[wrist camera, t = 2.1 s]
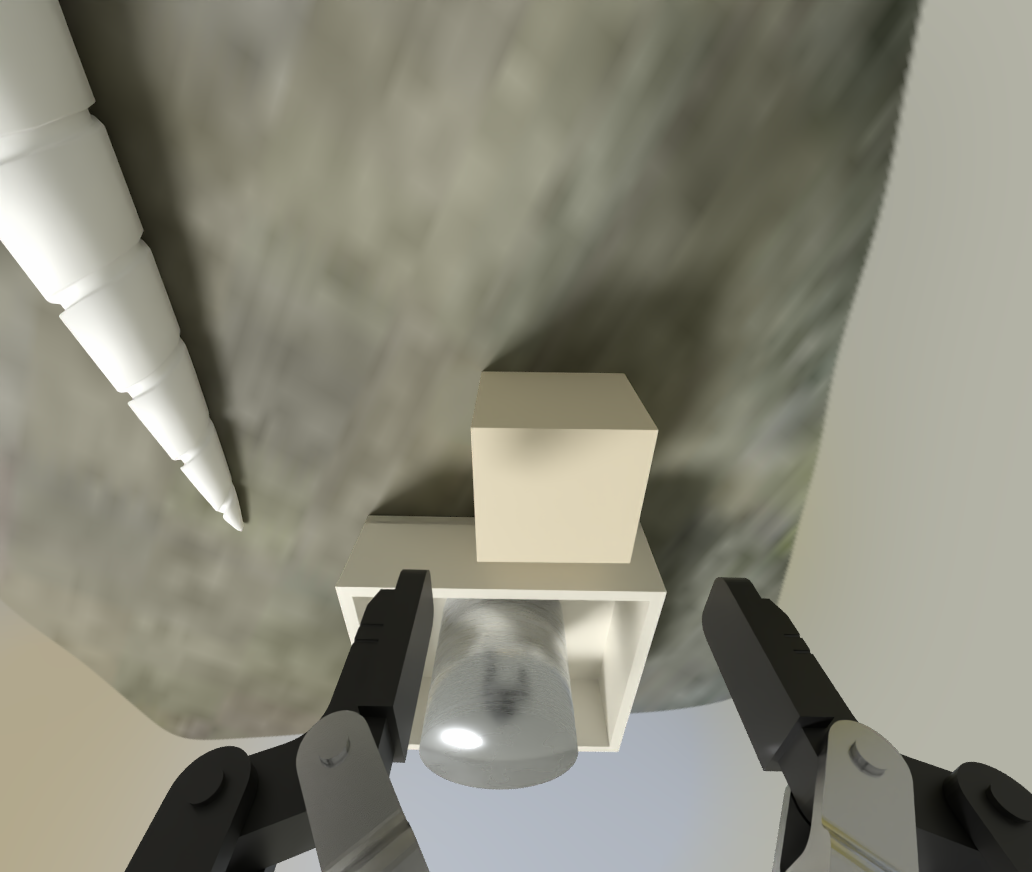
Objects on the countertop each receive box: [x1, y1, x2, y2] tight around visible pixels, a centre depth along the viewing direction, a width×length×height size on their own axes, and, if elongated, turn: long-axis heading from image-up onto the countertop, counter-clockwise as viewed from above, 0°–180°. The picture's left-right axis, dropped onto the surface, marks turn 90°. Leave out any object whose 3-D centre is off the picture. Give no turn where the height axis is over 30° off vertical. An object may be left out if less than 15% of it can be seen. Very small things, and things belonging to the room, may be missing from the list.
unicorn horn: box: [0, 0, 243, 531], centre depth 14 cm, size 5×24×5 cm, turn 177°
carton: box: [471, 371, 658, 563], centre depth 17 cm, size 6×6×5 cm
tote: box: [335, 515, 667, 752], centre depth 23 cm, size 14×14×4 cm
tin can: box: [419, 598, 578, 789], centre depth 21 cm, size 7×7×7 cm
